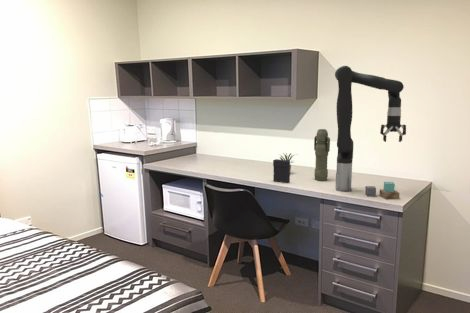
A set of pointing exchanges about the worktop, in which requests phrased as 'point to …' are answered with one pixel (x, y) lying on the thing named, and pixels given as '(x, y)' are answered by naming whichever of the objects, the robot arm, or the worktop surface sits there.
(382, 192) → the brown square block
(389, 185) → the teal cube
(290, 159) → the house plant
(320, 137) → the olive green figurine
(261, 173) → the worktop surface
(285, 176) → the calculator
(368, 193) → the charcoal cube
